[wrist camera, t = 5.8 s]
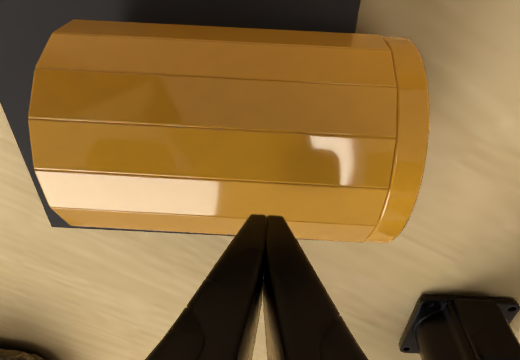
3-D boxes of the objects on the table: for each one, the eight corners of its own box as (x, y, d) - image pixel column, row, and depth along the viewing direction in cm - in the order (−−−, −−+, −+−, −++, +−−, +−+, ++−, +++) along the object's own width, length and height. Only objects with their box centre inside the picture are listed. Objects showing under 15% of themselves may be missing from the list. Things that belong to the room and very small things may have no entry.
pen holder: (384, 286, 13) (74, 268, 13) (352, 165, 19) (136, 153, 19) (460, 94, 9) (-10, 70, 9) (388, 12, 14) (105, -2, 14)
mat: (318, 235, 22) (319, 240, 22) (54, 222, 23) (51, 227, 22) (388, -177, 12) (391, -180, 11) (-113, -192, 12) (-124, -195, 12)
